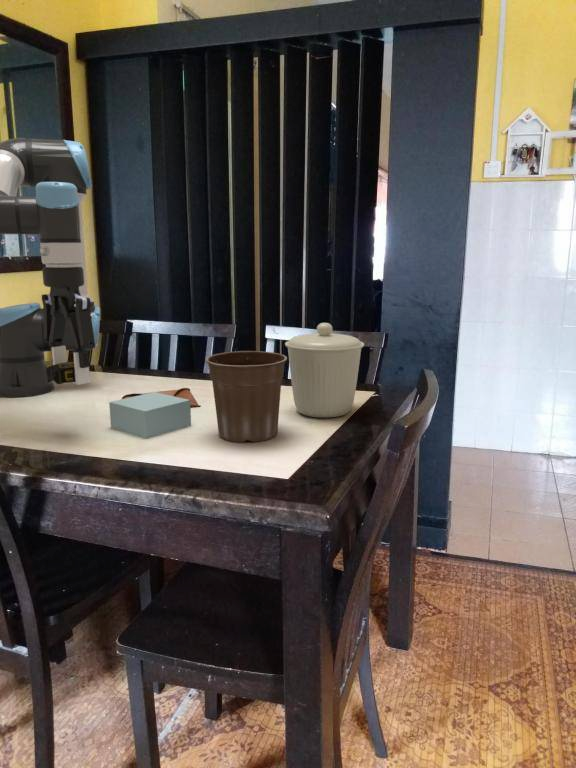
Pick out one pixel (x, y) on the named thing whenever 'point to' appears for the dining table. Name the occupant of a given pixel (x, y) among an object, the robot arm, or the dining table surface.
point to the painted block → (150, 414)
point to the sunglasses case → (179, 393)
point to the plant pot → (247, 393)
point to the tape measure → (61, 372)
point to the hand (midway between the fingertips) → (71, 380)
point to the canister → (324, 372)
